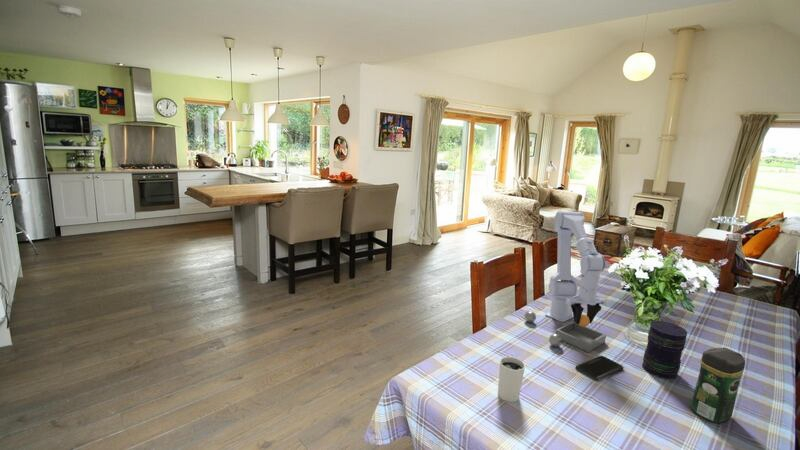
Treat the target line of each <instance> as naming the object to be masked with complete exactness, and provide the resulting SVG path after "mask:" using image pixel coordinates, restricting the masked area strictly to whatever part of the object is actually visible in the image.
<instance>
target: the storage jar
mask: <svg viewBox="0 0 800 450" xmlns="http://www.w3.org/2000/svg"><path fill="white" fill-rule="evenodd" d="M687 336H688V331H687V330H686V329H685V328H683V327H681V326H679V325H677V324H674V323H671V322H669V321H662V320H654V321H651V323H650V327H649V330H648V335H647V343H646V344H647V345H646V349H645V350H644V353H643V359H642V365H641V366H642V368H643V370H644V371H646V372H647V373H648V374H651V375H652V376H655V377H657V378H660V379H664V380H675V379H677V378H678V374H679V371H680V369H681V363H682V360H681V357H682V354H683V351H684V350H685V346H686V343H687V342H686V341H687Z"/></svg>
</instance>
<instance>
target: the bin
mask: <svg viewBox="0 0 800 450" xmlns="http://www.w3.org/2000/svg"><path fill="white" fill-rule="evenodd" d="M554 334H558V335H559V336H561V338H562V343H563V342H564V343H566V344H568V345H570V346H572V347H574V348H576V349H579V350H581V351H583V352H585V353H587V354H589V353H591V352H593V351H594V350H596V349H597V348H599V347H600V346H602V345H603V344H605V343H606V340H607V334H606V333H603V332H601V331H598V330H595V329H594V328H591V327H589V326H586V327H582V326H580V325H578V324H577V323H575V322H574V320H573V321H571V322H569V323H566V324H565V325H563V326H561V327H559V328H557V329H555V333H554Z"/></svg>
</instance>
